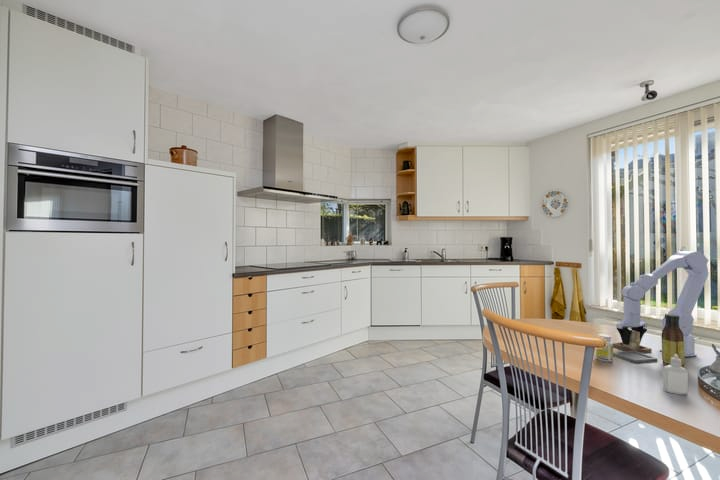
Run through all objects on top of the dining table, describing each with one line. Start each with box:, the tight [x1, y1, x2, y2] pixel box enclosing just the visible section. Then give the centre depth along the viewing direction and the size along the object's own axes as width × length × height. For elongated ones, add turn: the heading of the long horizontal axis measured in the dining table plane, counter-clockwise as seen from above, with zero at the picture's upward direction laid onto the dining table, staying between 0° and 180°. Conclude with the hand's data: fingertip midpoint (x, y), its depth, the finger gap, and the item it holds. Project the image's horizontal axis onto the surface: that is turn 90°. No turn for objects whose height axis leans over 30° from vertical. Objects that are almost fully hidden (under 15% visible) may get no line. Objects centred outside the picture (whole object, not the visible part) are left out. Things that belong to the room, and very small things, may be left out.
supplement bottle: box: [595, 333, 614, 363], centre depth 130 cm, size 5×5×10 cm
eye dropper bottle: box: [662, 354, 689, 396], centre depth 102 cm, size 4×6×12 cm
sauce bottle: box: [661, 313, 685, 368], centre depth 124 cm, size 7×6×20 cm
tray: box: [613, 350, 658, 364], centre depth 132 cm, size 11×9×1 cm
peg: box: [623, 329, 641, 349], centre depth 143 cm, size 4×4×8 cm
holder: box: [612, 341, 653, 354], centre depth 143 cm, size 10×10×2 cm
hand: (631, 343), depth 143 cm, fingers open, 6 cm apart
